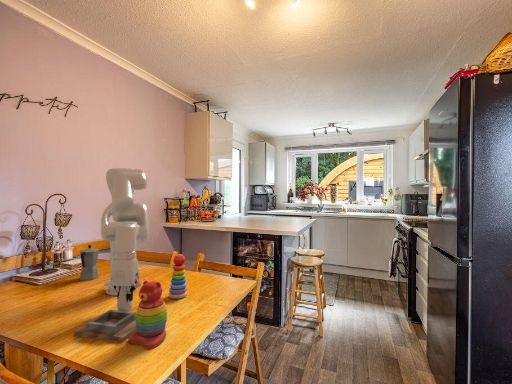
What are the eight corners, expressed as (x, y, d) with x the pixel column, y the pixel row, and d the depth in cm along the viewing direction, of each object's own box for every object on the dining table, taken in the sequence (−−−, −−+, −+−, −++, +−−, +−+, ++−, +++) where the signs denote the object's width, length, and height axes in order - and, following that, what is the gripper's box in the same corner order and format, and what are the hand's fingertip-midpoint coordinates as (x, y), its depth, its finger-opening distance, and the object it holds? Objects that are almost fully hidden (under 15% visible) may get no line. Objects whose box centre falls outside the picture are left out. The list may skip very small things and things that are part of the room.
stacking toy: (182, 300, 115) (182, 256, 115) (165, 298, 116) (165, 255, 117) (190, 293, 123) (190, 252, 123) (174, 292, 124) (174, 252, 124)
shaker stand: (74, 335, 86) (74, 323, 86) (102, 318, 97) (102, 307, 97) (123, 342, 82) (123, 329, 82) (146, 324, 94) (146, 312, 94)
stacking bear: (124, 342, 82) (125, 284, 82) (149, 327, 91) (150, 275, 92) (151, 350, 78) (151, 289, 78) (174, 334, 87) (175, 279, 87)
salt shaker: (116, 314, 101) (116, 280, 101) (116, 308, 106) (117, 276, 106) (133, 311, 104) (133, 278, 104) (132, 306, 109) (133, 274, 109)
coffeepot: (85, 274, 150) (85, 242, 151) (103, 274, 152) (103, 242, 152) (71, 283, 135) (71, 248, 135) (91, 283, 137) (91, 247, 137)
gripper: (100, 256, 103) (99, 304, 103) (138, 259, 100) (137, 308, 99) (114, 252, 110) (113, 297, 110) (150, 254, 107) (149, 300, 107)
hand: (125, 301), depth 105 cm, fingers closed on salt shaker, 3 cm apart
